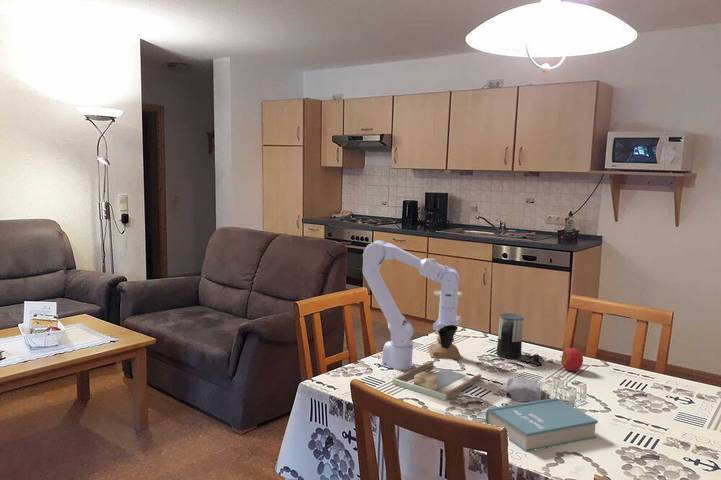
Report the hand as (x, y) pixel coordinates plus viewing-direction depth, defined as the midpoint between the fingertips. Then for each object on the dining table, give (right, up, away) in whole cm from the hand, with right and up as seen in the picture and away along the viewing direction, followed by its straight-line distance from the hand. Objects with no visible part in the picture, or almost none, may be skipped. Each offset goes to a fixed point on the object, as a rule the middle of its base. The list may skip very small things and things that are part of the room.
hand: (445, 347), depth 183 cm
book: (+19, -15, -35) cm, 43 cm away
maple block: (-8, -9, -14) cm, 19 cm away
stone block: (+22, -12, -11) cm, 27 cm away
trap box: (-4, -10, -8) cm, 13 cm away
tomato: (+45, -10, +12) cm, 47 cm away
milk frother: (+30, -8, +23) cm, 38 cm away
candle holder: (+2, -7, +19) cm, 21 cm away
